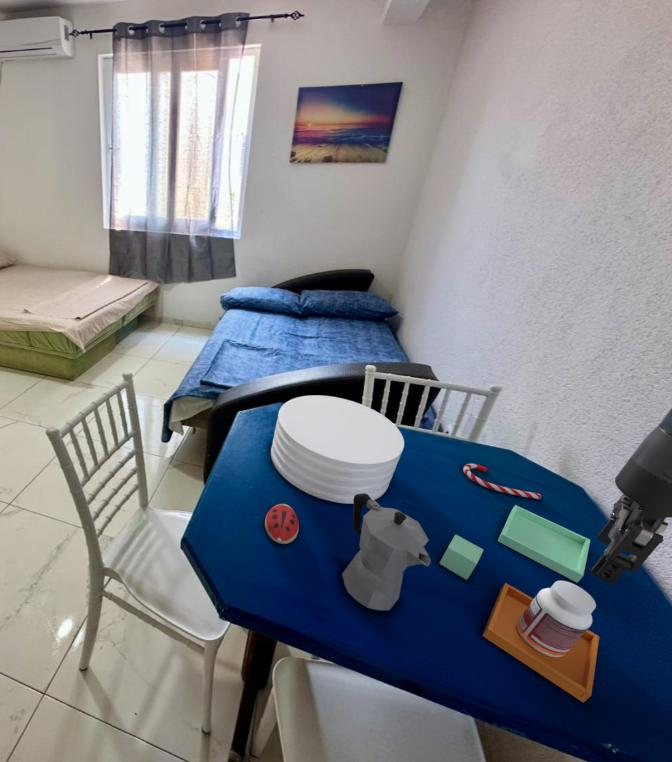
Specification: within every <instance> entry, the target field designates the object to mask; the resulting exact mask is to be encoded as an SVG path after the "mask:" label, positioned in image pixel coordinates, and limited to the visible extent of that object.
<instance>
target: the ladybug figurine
mask: <svg viewBox="0 0 672 762" xmlns="http://www.w3.org/2000/svg"><path fill="white" fill-rule="evenodd" d="M264 528H265V531H266V533H267V535H268V536H269V538H270V539H271V540H272V541H274V542H276V543H277V544H283V545H287V544H290V543H292V542H293V541H294V540H295V539H296V538H297V536H298V534H299V529H300V524H299V519H298V516H297V514H296V512H295V511H294V509H293V508H292V507H291V506H290V505H288V504H286V503H279V504H276V505H274V506H273V507H271V509H269V510H268V512H267V514H266V516H265V519H264Z"/></svg>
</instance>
